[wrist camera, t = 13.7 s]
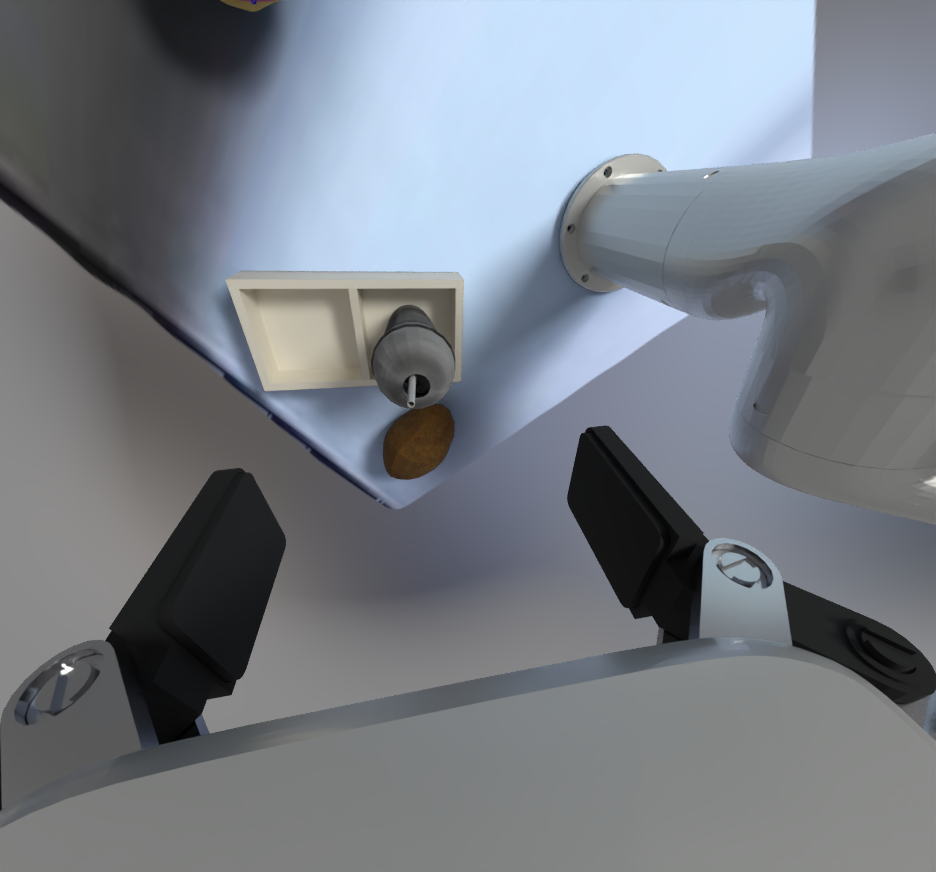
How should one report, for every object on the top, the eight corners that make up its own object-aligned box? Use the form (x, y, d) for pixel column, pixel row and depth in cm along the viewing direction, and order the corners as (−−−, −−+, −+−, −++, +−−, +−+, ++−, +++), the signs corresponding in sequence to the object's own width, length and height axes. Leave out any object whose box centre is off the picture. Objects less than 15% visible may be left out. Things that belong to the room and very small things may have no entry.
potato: (464, 406, 47) (475, 439, 41) (420, 468, 52) (424, 505, 46) (412, 380, 43) (415, 412, 37) (370, 449, 48) (367, 487, 42)
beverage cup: (399, 365, 41) (401, 475, 25) (363, 311, 37) (339, 401, 21) (452, 337, 40) (489, 432, 24) (421, 278, 36) (443, 345, 20)
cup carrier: (457, 272, 37) (463, 279, 34) (456, 367, 43) (461, 381, 40) (241, 270, 33) (225, 279, 30) (275, 375, 40) (264, 391, 37)
